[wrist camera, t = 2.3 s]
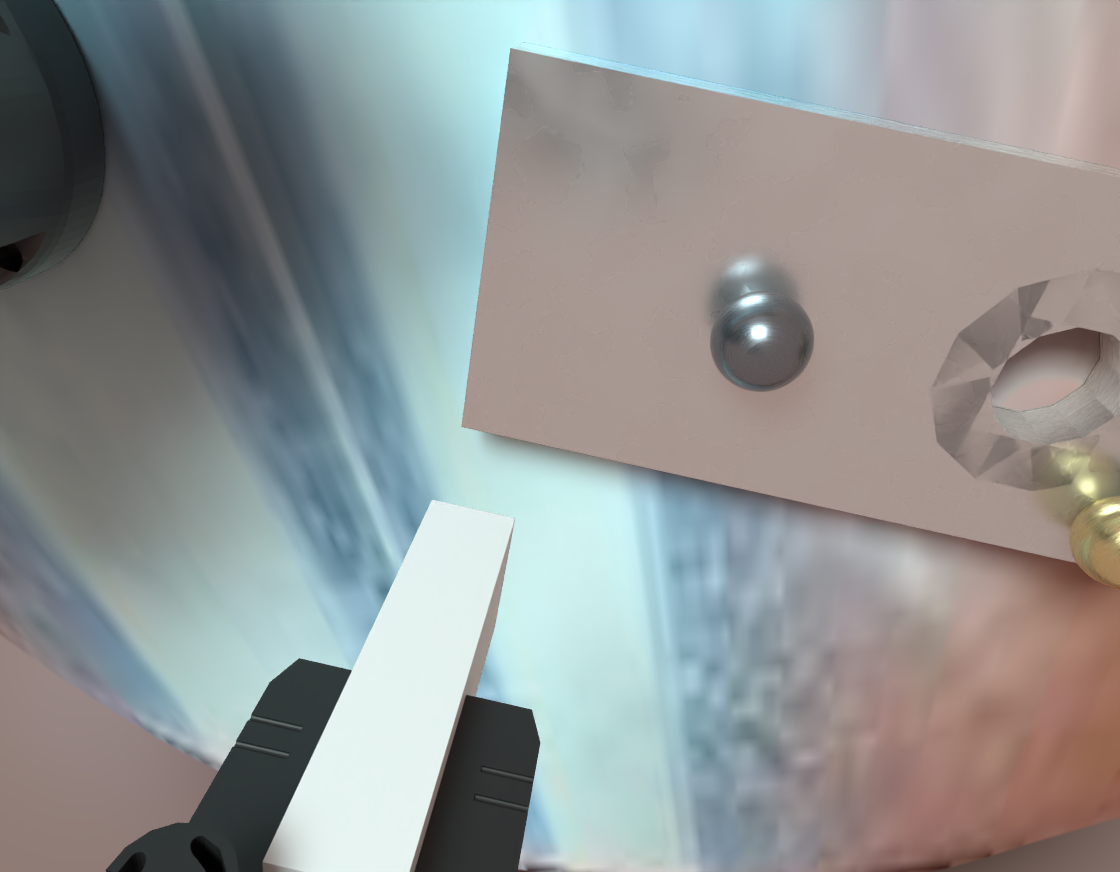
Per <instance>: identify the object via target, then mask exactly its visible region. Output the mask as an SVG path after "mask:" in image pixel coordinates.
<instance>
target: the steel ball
mask: <svg viewBox="0 0 1120 872" xmlns="http://www.w3.org/2000/svg"><path fill="white" fill-rule="evenodd" d="M813 348H814V331H813V327H812V323H811V321H810V318H809V316H808V315H807V313H806V312H805V310H804V309H803V308H802V307H801V306H800V304H798V303H797V302H796V301H795V300H793V299H792V298H790V297H789V296H787V295H784V294H782V293H779V292H775V291H769V290H759V291H752V292H748V293H745V294H743V295H741V296H739V297H737V298H735V299H734V300H732V301H731V302H730V303H728V304H727V305H726V306H725V307H724V308H723V309H722V310H721V312H720V313H719V314H718V316H717V318H716V320H715V322H714V324H713V327H712V330H711V335H710V350H711V355H712V358H713V361H714V363H715V365H716V367H717V369H718V370H719V372H720V373H721V374H722V375H723V376H724V377H725V378H726V379H727V380H728V381H729V382H731V383H732V384H734V385H735V386H737V387H739V388H742V389H745V390H748V391H754V392H768V391H773V390H776V389H779V388H782V387H784V386H786V385H788V384H789V383H791V382H792V381H794V380H795V379H796V378H797V377H798V376H799V375H800V374H801V373H802V372H803V371H804V369H805V368H806V366H807V365H808V363H809V361H810V359H811V356H812V353H813Z"/></svg>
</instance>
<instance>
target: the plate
mask: <svg viewBox="0 0 1120 872" xmlns="http://www.w3.org/2000/svg"><path fill="white" fill-rule="evenodd" d="M759 290H769V291H775V292H779V293H782V294H784V295H787V296H789V297H790V298H792V299H793V300H795V301H796V302H797V303H798V304H800V306H801V307H802V308H803V309H804V310H805V312H806V313H807V315H808V316H809V318H810V321H811V323H812V327H813V331H814V348H813V353H812V356H811V359H810V361H809V363H808V365H807V366H806V368H805V369H804V371H803V372H802V373H801V374H800V375H799V376H798V377H797V378H796V379H795V380H794V381H792V382H791V383H789V384H788V385H786V386H784V387H782V388H779V389H776V390H773V391H768V392H754V391H748V390H745V389H742V388H739V387H737V386H735V385H734V384H732V383H731V382H729V381H728V380H727V379H726V378H725V377H724V376H723V375H722V374H721V373H720V372H719V370H718V369H717V367H716V365H715V363H714V361H713V358H712V355H711V350H710V335H711V330H712V327H713V324H714V322H715V320H716V318H717V316H718V314H719V313H720V312H721V310H722V309H723V308H724V307H725V306H726V305H727V304H728V303H730V302H731V301H732V300H734V299H735V298H737V297H739V296H741V295H743V294H745V293H748V292H752V291H759ZM1077 327H1080V328H1084V329H1089V330H1093V331H1098V332H1100V359H1099V361H1098V362H1097V364H1096V365H1095V367H1094V369H1093V370H1092V372H1091V374H1090V375H1089V377H1088V379H1087V380H1086V382H1085V383H1084V385H1083V386H1082V387H1080V388H1079V389H1077V390H1076V391H1074V392H1073V393H1071V394H1070V395H1068V396H1067V397H1065V398H1064V399H1062V400H1061V401H1059V402H1058V403H1056V404H1055V405H1052V406H1047V407H1043V408H1038V409H1034V410H1029V411H1024V412H1016V411H1012V410H1007V409H1002V408H998V407H993V405H992V395H991V389H992V387H993V385H994V383H995V381H996V380H997V378H998V376H999V374H1000V372H1001V370H1002V369H1003V367H1004V365H1005V363H1006V361H1007V360H1008V359H1009V358H1010V357H1012V356H1013V355H1015V354H1016V353H1017V352H1019V351H1020V350H1022V349H1023V348H1024V347H1026V346H1027V345H1028V344H1030V343H1031V342H1033V341H1034V340H1035V339H1037V338H1038V337H1040V336H1044V335H1048V334H1052V333H1057V332H1061V331H1065V330H1069V329H1073V328H1077ZM462 427H464V428H469V429H474V430H478V431H483V432H487V433H492V434H496V435H501V436H505V437H510V438H514V439H519V440H523V441H528V442H532V443H537V444H541V445H546V446H550V447H555V448H559V449H564V450H568V451H573V452H577V453H582V454H586V455H591V456H595V457H600V458H604V459H609V460H613V461H618V462H622V463H627V464H632V465H636V466H641V467H645V468H650V469H654V470H659V471H663V472H668V473H672V474H677V475H681V476H686V477H690V478H695V479H699V480H704V481H708V482H713V483H717V484H722V485H726V486H731V487H735V488H740V489H744V490H749V491H753V492H758V493H762V494H767V495H771V496H776V497H781V498H785V499H790V500H794V501H799V502H803V503H808V504H812V505H817V506H821V507H826V508H830V509H835V510H839V511H844V512H848V513H853V514H857V515H862V516H866V517H871V518H875V519H880V520H884V521H889V522H893V523H898V524H902V525H907V526H911V527H916V528H920V529H925V530H930V531H934V532H939V533H943V534H948V535H952V536H957V537H961V538H966V539H970V540H975V541H979V542H984V543H988V544H993V545H997V546H1002V547H1006V548H1011V549H1015V550H1020V551H1024V552H1029V553H1033V554H1038V555H1042V556H1047V557H1051V558H1056V559H1060V560H1065V561H1069V562H1074V563H1076V561H1075V559H1074V558H1073V556H1072V553H1071V550H1070V546H1069V533H1070V528H1071V525H1072V523H1073V521H1074V519H1075V518H1076V516H1077V515H1078V514H1079V513H1080V512H1081V511H1082V510H1083V509H1084V508H1085V507H1087V506H1088V505H1090V504H1091V503H1093V502H1095V501H1098V500H1100V499H1103V498H1108V497H1113V496H1120V169H1118V168H1113V167H1108V166H1104V165H1099V164H1094V163H1089V162H1085V161H1080V160H1075V159H1071V158H1066V157H1061V156H1057V155H1052V154H1047V153H1042V152H1038V151H1033V150H1028V149H1024V148H1019V147H1014V146H1010V145H1005V144H1000V143H995V142H991V141H986V140H981V139H977V138H972V137H967V136H963V135H958V134H953V133H948V132H944V131H939V130H934V129H930V128H925V127H920V126H916V125H911V124H906V123H901V122H897V121H892V120H887V119H883V118H878V117H873V116H868V115H864V114H859V113H854V112H850V111H845V110H840V109H836V108H831V107H826V106H821V105H817V104H812V103H807V102H803V101H798V100H793V99H789V98H784V97H779V96H774V95H770V94H765V93H760V92H756V91H751V90H746V89H742V88H737V87H732V86H727V85H723V84H718V83H713V82H709V81H704V80H699V79H695V78H690V77H685V76H680V75H676V74H671V73H666V72H662V71H657V70H652V69H647V68H643V67H638V66H633V65H629V64H624V63H619V62H615V61H610V60H605V59H600V58H596V57H591V56H586V55H582V54H577V53H572V52H568V51H563V50H558V49H553V48H549V47H544V46H539V45H535V44H530V43H525V42H523V43H521V44H519V45H516V46H514V47H512V48H511V49H510V56H509V64H508V72H507V80H506V87H505V95H504V103H503V111H502V118H501V126H500V134H499V141H498V149H497V157H496V165H495V172H494V180H493V188H492V196H491V203H490V211H489V219H488V227H487V234H486V242H485V250H484V258H483V265H482V273H481V281H480V288H479V296H478V304H477V312H476V319H475V327H474V335H473V343H472V350H471V358H470V366H469V374H468V381H467V389H466V397H465V405H464V412H463V420H462Z"/></svg>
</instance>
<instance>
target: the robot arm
mask: <svg viewBox="0 0 1120 872" xmlns="http://www.w3.org/2000/svg"><path fill="white" fill-rule="evenodd" d="M104 165H105V156H104V139H103V130H102V124H101V118H100V113H99V109H98V105H97V100H96V97H95V93H94V90H93V87H92V83H91V80H90V78H89V75H88V72H87V69H86V66H85V64H84V62H83V59H82V57H81V55H80V52H79V50H78V48H77V46H76V44H75V42H74V39H73V37H72V35H71V33H70V31H69V30H68V28H67V26H66V24H65V22H64V20H63V19H62V17H61V15H60V13H59V12H58V10H57V9H56V7H55V5H54V4H53V2H52V0H0V290H2V289H5V288H8V287H10V286H12V285H14V284H17V283H19V282H21V281H23V280H25V279H28V278H30V277H32V276H34V275H36V274H38V273H41V272H43V271H45V270H47V269H49V268H51V267H52V266H54V265H56V264H57V263H59V262H60V261H61V260H63V259H64V258H65V257H66V256H68V255H69V254H70V253H71V252H72V251H73V250H74V249H75V248H76V246H77V245H78V244H79V243H80V242H81V240H82V239H83V237H84V236H85V234H86V233H87V231H88V229H89V227H90V225H91V223H92V221H93V219H94V216H95V214H96V211H97V208H98V205H99V202H100V197H101V193H102V187H103V180H104ZM514 521H515V518H511V517H507V516H502V515H498V514H493V513H489V512H484V511H480V510H475V509H471V508H466V507H462V506H458V505H453V504H449V503H444V502H440V501H435V500H432V501H431V503H430V505H429V508H428V510H427V512H426V514H425V516H424V518H423V520H422V522H421V525H420V527H419V529H418V531H417V533H416V535H415V537H414V540H413V542H412V544H411V546H410V548H409V550H408V552H407V554H406V557H405V559H404V561H403V563H402V565H401V567H400V569H399V572H398V574H397V576H396V578H395V580H394V582H393V584H392V587H391V589H390V591H389V593H388V595H387V597H386V599H385V601H384V604H383V606H382V608H381V610H380V612H379V614H378V616H377V619H376V621H375V623H374V625H373V627H372V629H371V631H370V633H369V636H368V638H367V640H366V642H365V644H364V646H363V648H362V651H361V653H360V655H359V657H358V659H357V661H356V663H355V665H354V668H353V670H348V669H343V668H339V667H335V666H330V665H326V664H322V663H317V662H313V661H309V660H304V659H300V658H299V659H298V660H297V661H295V662H294V663H293V664H292V665H290V666H289V667H288V668H287V669H286V670H284V671H283V672H282V673H281V674H280V675H278V676H277V677H276V678H275V679H273V680H272V681H271V682H270V683H269V685H268V687H267V688H266V690H265V692H264V693H263V695H262V697H261V699H260V700H259V702H258V704H257V706H256V707H255V709H254V711H253V713H252V715H251V718H250V720H248V721H247V723H246V725H245V726H244V728H243V730H242V732H241V733H240V735H239V737H238V738H237V741H236V744H235V746H234V747H232V749H231V751H230V752H229V754H228V756H227V758H226V759H225V761H224V763H223V764H222V766H221V768H220V770H219V771H218V773H217V775H216V777H215V778H214V780H213V782H212V783H211V785H210V787H209V789H208V791H207V792H206V794H205V796H204V798H203V799H202V801H201V803H200V804H199V806H198V808H197V809H196V811H195V813H194V815H193V816H192V818H191V820H190V822H189V823H175V824H172V825H169V826H165V827H162V828H159V829H155V830H152V831H150V832H148V833H147V834H145V835H144V836H142V837H141V838H139V839H138V840H136V841H134V842H133V843H131V844H130V845H128V846H127V847H125V849H124V850H123V851H122V852H121V853H120V854H119V856H118V857H117V858H116V859H115V860H114V861H113V862H112V864H111V865H110V866H109V867H108V868H107V869H106V872H517V871H518V865H519V860H520V854H521V848H522V843H523V837H524V831H525V826H526V820H527V815H528V808H529V803H530V798H531V792H532V786H533V780H534V775H535V769H536V764H537V758H538V753H539V747H540V740H539V736H538V732H537V728H536V724H535V720H534V716H533V712H532V710H531V709H526V708H522V707H518V706H513V705H509V704H505V703H500V702H496V701H492V700H487V699H483V698H478V697H475V696H476V692H477V689H478V685H479V681H480V678H481V674H482V671H483V667H484V663H485V660H486V656H487V653H488V649H489V646H490V642H491V638H492V635H493V631H494V628H495V623H496V617H497V612H498V607H499V601H500V596H501V591H502V585H503V580H504V575H505V569H506V564H507V558H508V553H509V548H510V542H511V537H512V532H513V526H514Z"/></svg>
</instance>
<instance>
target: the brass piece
mask: <svg viewBox="0 0 1120 872" xmlns="http://www.w3.org/2000/svg"><path fill="white" fill-rule="evenodd" d="M1069 546H1070V550H1071V553H1072V556H1073V558H1074V559H1075V561H1076V563H1077V564H1078V565H1079V567H1080V568H1081V569H1082V570H1083V571H1084V572H1085V573H1086V574H1087V575H1089V576H1090V577H1091V578H1093V579H1094V580H1096V581H1098V582H1099V583H1102V584H1104V585H1107V586H1109V587H1113V588H1117V589H1120V496H1113V497H1108V498H1103V499H1100V500H1098V501H1095V502H1093V503H1091V504H1090V505H1088V506H1087V507H1085V508H1084V509H1083V510H1082V511H1081V512H1080V513H1079V514H1078V515H1077V516H1076V518H1075V519H1074V521H1073V523H1072V525H1071V528H1070V533H1069Z"/></svg>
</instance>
